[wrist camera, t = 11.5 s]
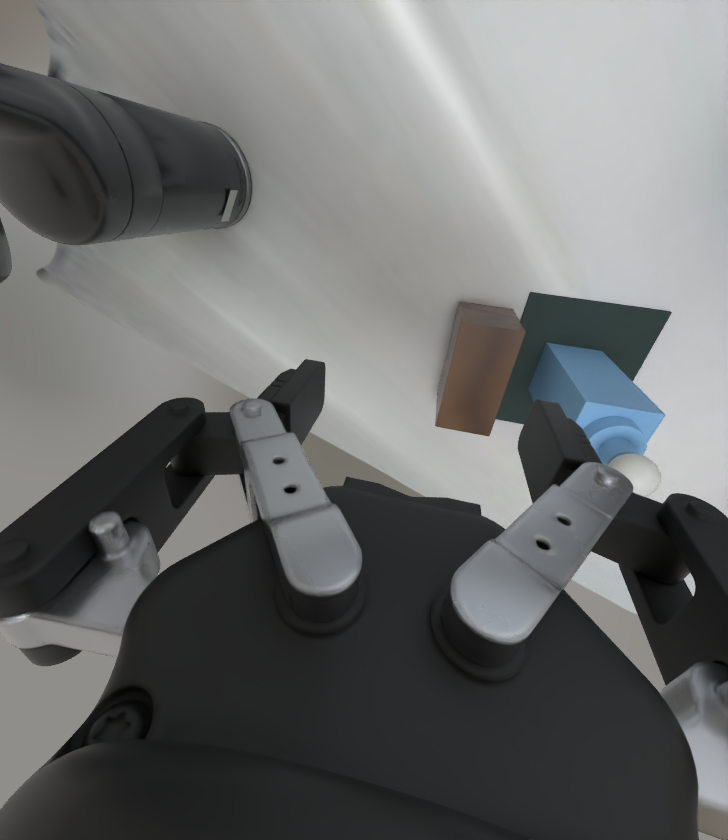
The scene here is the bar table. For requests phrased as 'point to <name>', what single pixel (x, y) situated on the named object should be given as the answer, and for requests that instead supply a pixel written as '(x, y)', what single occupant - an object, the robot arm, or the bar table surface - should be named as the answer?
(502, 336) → the block
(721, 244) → the bar table surface
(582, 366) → the bottle
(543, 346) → the mat
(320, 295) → the bar table surface
